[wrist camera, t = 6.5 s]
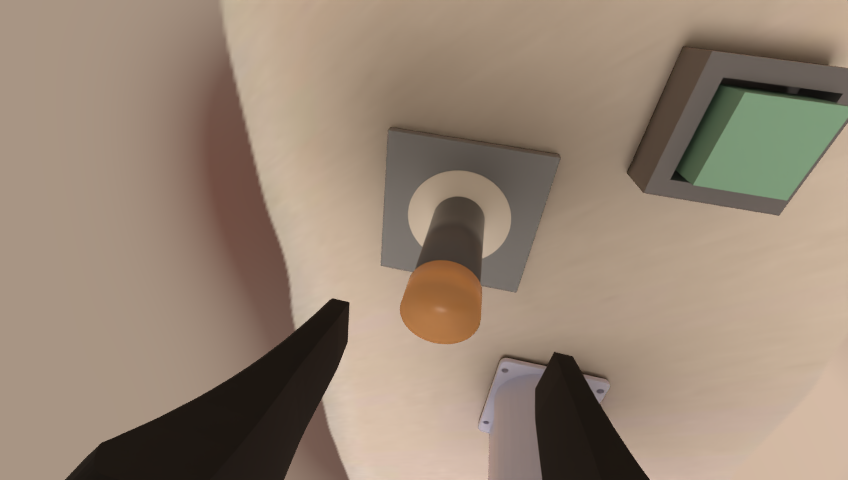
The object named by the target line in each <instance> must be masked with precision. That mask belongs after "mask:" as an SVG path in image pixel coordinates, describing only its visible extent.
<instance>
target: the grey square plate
mask: <svg viewBox="0 0 848 480" xmlns="http://www.w3.org/2000/svg"><path fill="white" fill-rule="evenodd" d="M559 161H560V156H559V154H553V153H547V152H541V151H535V150H528V149H522V148H516V147H510V146H504V145H497V144H491V143H485V142H479V141H473V140H466V139H460V138H454V137H448V136H442V135H435V134H429V133H423V132H417V131H411V130H404V129H398V128H392V127H391V128H390V129H389V130H388V140H387V158H386V177H385V196H384V215H383V233H382V252H381V266H385V267H390V268H395V269H400V270H405V271H410V272H414V270H415V268H416V265H417V262H418V259H419V256H420V253H421V250H422V247H423V244H424V241H425V238H426V235H427V232H428V229H429V226H430V223H431V220H432V217H433V214H434V211H435V209H436V207H437V206H438V205H439V204H440V203H441V202H442V201H443V200H445V199H447V198H450V197H456V196H460V197H466V198H469V199H471V200H473V201H474V202H476V203H477V204H478V205H479V206H480V208H481V209H482V211H483V214H484V218H485V223H484V238H483V253H482V268H481V283H480V284H481V286H485V287H490V288H496V289H501V290H506V291H511V292H517V289H518V286H519V283H520V280H521V277H522V274H523V271H524V268H525V265H526V262H527V259H528V256H529V253H530V250H531V247H532V244H533V241H534V237H535V234H536V231H537V228H538V225H539V222H540V219H541V216H542V213H543V210H544V207H545V204H546V201H547V198H548V195H549V192H550V189H551V186H552V183H553V180H554V177H555V173H556V170H557V167H558V164H559Z"/></svg>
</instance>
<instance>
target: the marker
mask: <svg viewBox="0 0 848 480" xmlns="http://www.w3.org/2000/svg"><path fill="white" fill-rule="evenodd" d="M484 223H485V218H484V214H483V211H482V209H481V208H480V206H479V205H478V204H477V203H476V202H474V201H473V200H471V199H469V198H466V197H460V196H456V197H450V198H447V199H445V200H443V201H442V202H441V203H440V204H439V205H438V206H437V207H436V209H435V211H434V214H433V217H432V220H431V223H430V226H429V229H428V232H427V235H426V238H425V241H424V244H423V247H422V250H421V253H420V256H419V259H418V262H417V265H416V268H415V270H414V272H413V273H412V274H411V276H410V278H409V281H408V284H407V287H406V290H405V293H404V296H403V299H402V302H401V305H400V313H401V317H402V320H403V322H404V323H405V325H406V326H407V327H408V329H409V330H410V331H412V332H413V333H414V334H415V335H417V336H418V337H420V338H422V339H424V340H427V341H430V342H433V343H439V344H453V343H458V342H461V341H464V340H466V339H468V338H469V337H471V336H472V335H473V334H474V333H475V332H476V331H477V329H478V327H479V325H480V320H481V305H482V287H481V284H480V283H481V268H482V253H483V238H484Z"/></svg>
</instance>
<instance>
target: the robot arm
mask: <svg viewBox="0 0 848 480" xmlns="http://www.w3.org/2000/svg"><path fill="white" fill-rule="evenodd" d="M348 322H349V302H346V301H341V300H337V299H331V300H329V301H328V302H327V303H326V304H325V305H324V306H323V307H322V308H321V309H320V310H319V311H318V312H317V313H316V314H314V315H313V316H312V317H311V318H310V319H309V320H308V321H307V322H305V323H304V324H303V325H302V326H301V327H300V328H298V329H297V330H296V331H295V332H294V333H292V334H291V335H290V336H289V337H288V338H286V339H285V340H284V341H283V342H281V343H280V344H279V345H277V346H276V347H275V348H274V349H272V350H271V351H269V352H268V353H267V354H266V355H264V356H263V357H261V358H260V359H259V360H257V361H256V362H254V363H253V364H251V365H250V366H249V367H247V368H246V369H244V370H243V371H241V372H239V373H238V374H236V375H235V376H233V377H232V378H230V379H228V380H227V381H225V382H223V383H222V384H220V385H218V386H217V387H215V388H213V389H212V390H210V391H208V392H207V393H205V394H203V395H201V396H200V397H198V398H196V399H194V400H192V401H190V402H188V403H186V404H184V405H182V406H180V407H178V408H176V409H175V410H172V411H171V412H169V413H167V414H165V415H163V416H161V417H159V418H157V419H154V420H152V421H150V422H148V423H146V424H144V425H141V426H139V427H137V428H135V429H132V430H130V431H128V432H126V433H123V434H121V435H119V436H117V437H115V438H112V439H110V440H107V441H105V442H102V443H101V444H100V445H99V446H98V447H97V448H96V449H95V450H94V451H93V452H91V453H90V454H89V455H88V456H87V457H86V458H85V459H84V460H83V461H82V462H81V464H79V466H78V467H77V468H76V469H75V470H74V471H73V472H72V473H71V474H70V475H69V476H68V477H67V478H66V479H65V480H284V478H285V476H286V473H287V471H288V468H289V466H290V464H291V461H292V459H293V456H294V454H295V452H296V449H297V447H298V444H299V442H300V440H301V438H302V435H303V434H304V431H305V429H306V427H307V425H308V423H309V422H310V420H311V418H312V416H313V414H314V412H315V410H316V408H317V406H318V404H319V402H320V401H321V399H322V397H323V395H324V393H325V391H326V389H327V387H328V385H329V383H330V382H331V380H332V378H333V376H334V374H335V372H336V370H337V368H338V365H339V363H340V360H341V358H342V355H343V352H344V350H345V347H346V345H347V342H348ZM504 368H506V369H504ZM609 388H610V384H609V381H608V380H606V379H603V378H598V377H594V376H589V375H584V374H582V372H581V370H580V368H579V367H578V365H577V363H576V361H575V360H574V358H573V356H569V355H564V354H560V353H556V352H554V354H553V356H552V358H551V360H550V361H549V363H548V365H547V366H543V365H538V364H533V363H529V362H524V361H519V360H515V359H510V358H503V359H501V360H500V362H499V365H498V368H497V371H496V374H495V377H494V380H493V383H492V386H491V388H490V391H489V394H488V397H487V400H486V403H485V406H484V409H483V412H482V415H481V418H480V421H479V424H478V429H479V430H480V431H482V432H486V433H489V469H488V480H650V479H649V478H648V477H647V475H646V474H645V473H644V471H643V470H642V469H641V467H640V466H639V464H638V463H637V462H636V460H635V459H634V457H633V456H632V454H631V453H630V451H629V450H628V448H627V447H626V445H625V444H624V442H623V441H622V439H621V438H620V436H619V435H618V433H617V432H616V430H615V428H614V427H613V425H612V424H611V422H610V420H609V419H608V417H607V415H606V414H605V412H604V410H603V409H602V407H601V405H600V402H601V401H602V399H603V398H604V396H605V395H606V393H607V391H608V390H609Z"/></svg>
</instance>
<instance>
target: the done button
mask: <svg viewBox="0 0 848 480" xmlns="http://www.w3.org/2000/svg"><path fill="white" fill-rule="evenodd" d="M847 118H848V106H847V105H843V104H839V103H835V102H831V101H827V100H823V99H818V98H814V97H810V96H806V95H800V94H792V93H785V92H778V91H771V90H763V89H756V88H749V87H742V86H734V85H727V84H719V86H718V88H717V90H716V92H715V94H714V96H713V98H712V100H711V102H710V104H709V106H708V108H707V109H706V111H705V113H704V115H703V117H702V119H701V121H700V123H699V125H698V127H697V129H696V131H695V133H694V135H693V136H692V138H691V140H690V142H689V144H688V146H687V148H686V150H685V152H684V154H683V156H682V158H681V160H680V162H679V163H678V165H677V167H676V169H675V170H676V171H677V172H678V173H679V174H680V175H682V176H683V177H684V178H685V179H686V180H687V181H689V182H690V183H691V184H692V185H695V186H701V187H707V188H713V189H719V190H726V191H732V192H738V193H744V194H750V195H756V196H762V197H768V198H774V199H781V200H788V199H789V197H790V196H791V194H792V193H793V192H794V190H795V189H796V188H797V186H798V185H799V184H800V182H801V181H802V179H803V178H804V177H805V175H806V174H807V173H808V171H809V170H810V169H811V167H812V166H813V164H814V163H815V162H816V160H817V159H818V158H819V156H820V155H821V154H822V152H823V151H824V150H825V148H826V147H827V145H828V144H829V143H830V141H831V140H832V139H833V137H834V136H835V135H836V133H837V132H838V130H839V129H840V128H841V126H842V125H843V124H844V122H845V121H846V120H847Z"/></svg>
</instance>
